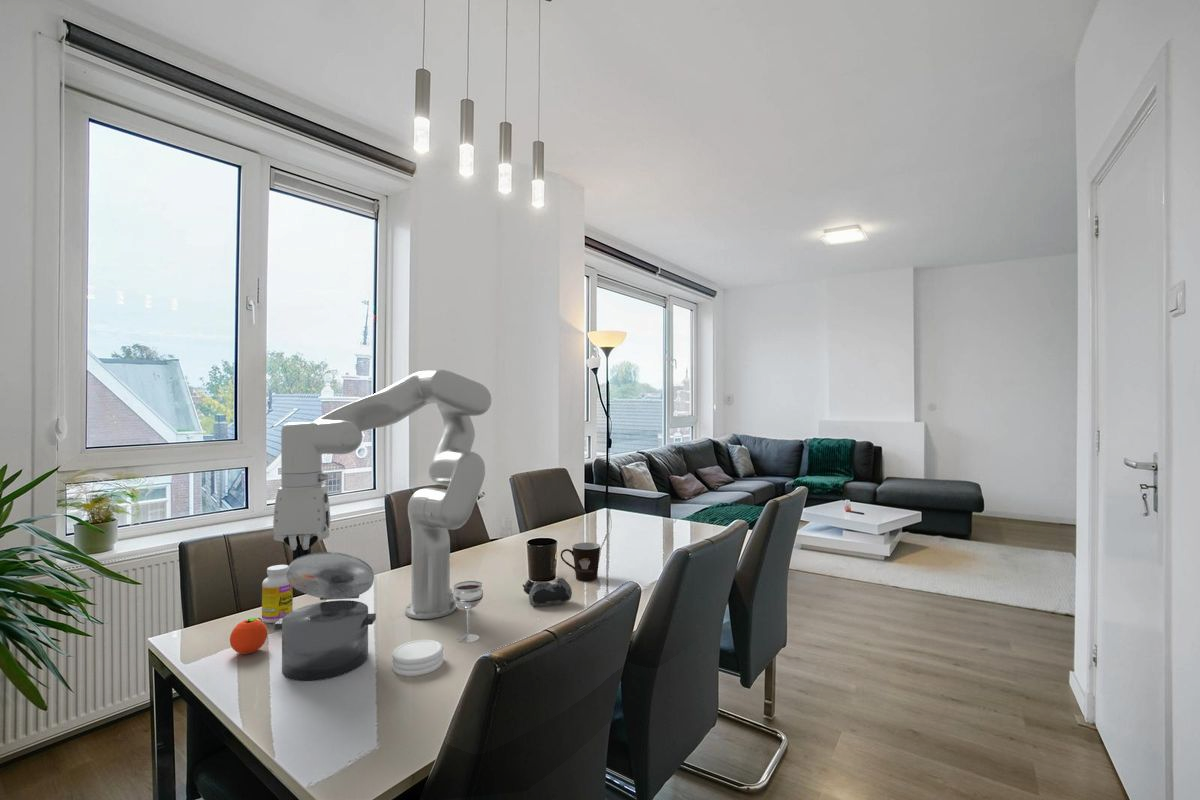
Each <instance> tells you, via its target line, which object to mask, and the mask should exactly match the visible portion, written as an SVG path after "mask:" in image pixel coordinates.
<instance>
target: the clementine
mask: <svg viewBox="0 0 1200 800" xmlns="http://www.w3.org/2000/svg"><path fill="white" fill-rule="evenodd" d="M267 638H268V627H267V626H266V623H265V622H263V621H262V617H251V618H248V619H245V620H243V621H241V622H239V623H238V624H236V626H235V627H234V628H233V629H232V631H231V633H230V636H229V642H230V646H231V647H230V648H231V649H233V650H234V651H235V652H236V653H238V654H240V655H241V654H242V655H246V654H251V653H254V652H256V651H258V650H259V649H261V648H262V647H263V645H264V644H265V642H266V640H267Z"/></svg>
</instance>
